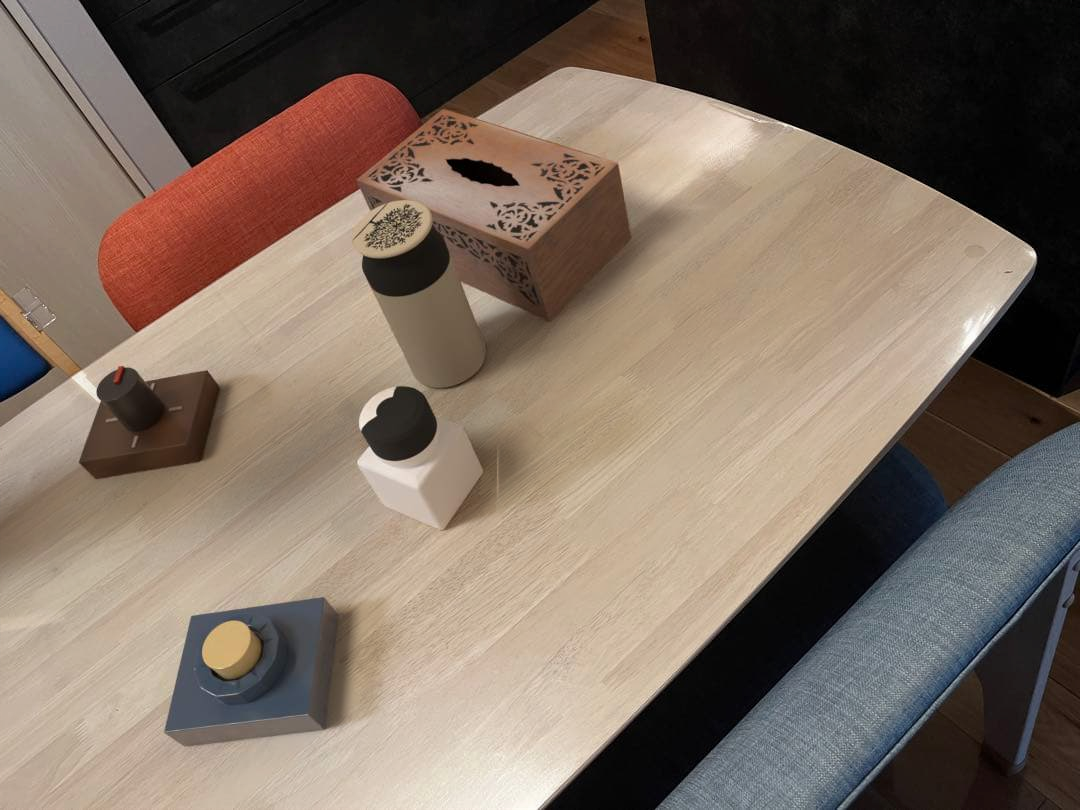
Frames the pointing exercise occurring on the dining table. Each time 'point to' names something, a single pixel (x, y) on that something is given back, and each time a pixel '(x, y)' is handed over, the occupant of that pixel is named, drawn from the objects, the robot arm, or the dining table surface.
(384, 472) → the medicine bottle
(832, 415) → the dining table surface
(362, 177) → the tissue box cover
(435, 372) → the travel mug
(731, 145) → the dining table surface
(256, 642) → the tan button cap
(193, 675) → the button housing
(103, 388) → the dial
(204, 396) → the dial panel
